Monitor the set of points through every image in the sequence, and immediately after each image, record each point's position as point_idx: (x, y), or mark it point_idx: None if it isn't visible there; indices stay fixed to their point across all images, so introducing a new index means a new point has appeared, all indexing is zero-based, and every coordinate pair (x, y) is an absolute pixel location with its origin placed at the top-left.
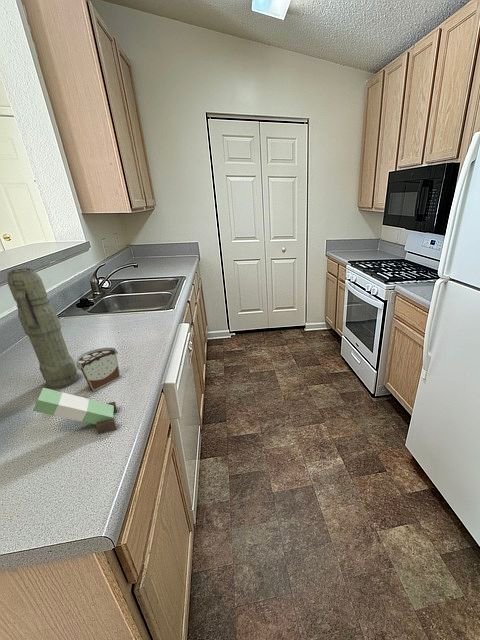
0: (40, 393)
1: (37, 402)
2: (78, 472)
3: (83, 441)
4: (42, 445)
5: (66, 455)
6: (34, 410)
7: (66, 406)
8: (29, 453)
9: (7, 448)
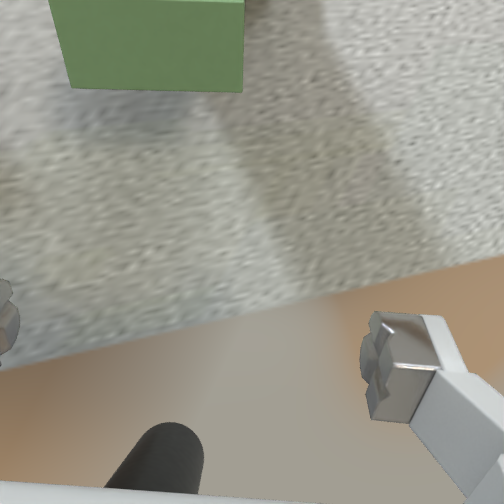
0: (136, 4)
1: (242, 22)
2: (484, 48)
3: (298, 43)
4: (251, 187)
5: (365, 94)
6: (241, 84)
7: None
8: (287, 226)
9: (205, 319)
